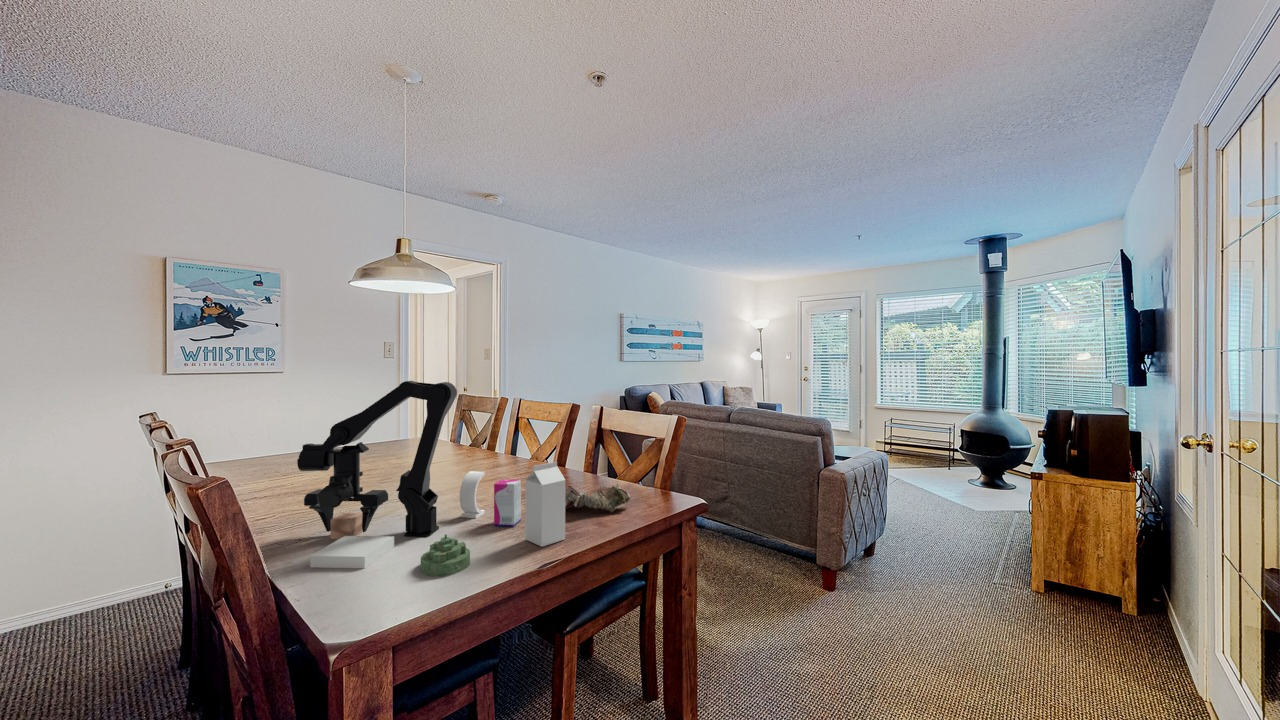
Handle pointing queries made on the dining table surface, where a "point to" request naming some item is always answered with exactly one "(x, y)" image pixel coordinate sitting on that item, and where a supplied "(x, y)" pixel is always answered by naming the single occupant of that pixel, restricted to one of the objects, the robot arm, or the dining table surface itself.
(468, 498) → the headphone stand
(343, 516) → the terracotta cube
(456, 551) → the decorative artifact
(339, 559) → the grey plate
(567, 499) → the grey furry oblong lump
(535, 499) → the milk carton
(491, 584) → the dining table surface
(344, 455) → the robot arm
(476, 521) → the dining table surface
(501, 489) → the supplement box
